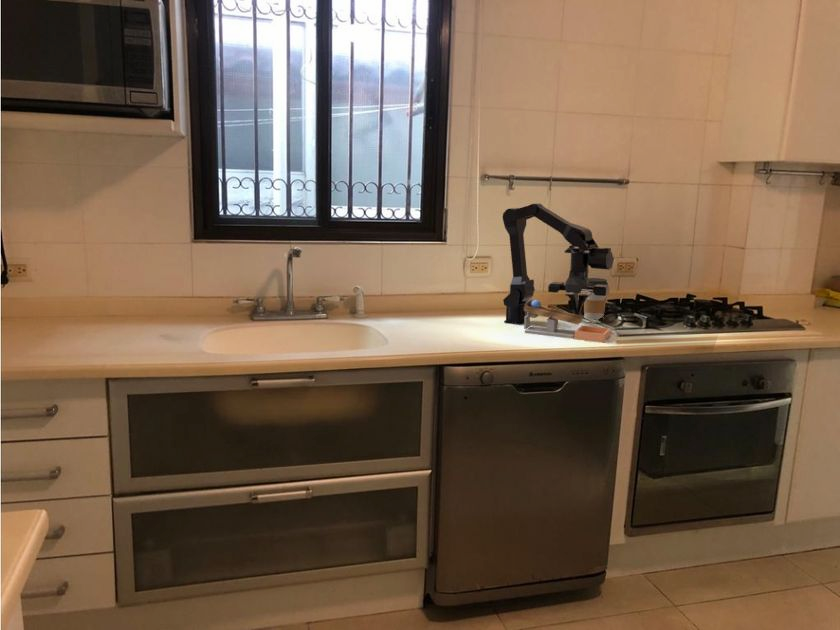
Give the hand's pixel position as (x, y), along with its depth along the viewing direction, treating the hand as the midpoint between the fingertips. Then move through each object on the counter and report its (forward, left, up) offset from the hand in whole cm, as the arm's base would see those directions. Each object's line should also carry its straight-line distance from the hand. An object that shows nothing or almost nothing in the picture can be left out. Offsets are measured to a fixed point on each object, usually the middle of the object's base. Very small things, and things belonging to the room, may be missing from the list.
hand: (577, 314), depth 215 cm
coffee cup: (+1, +19, -6) cm, 20 cm away
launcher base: (-7, -5, -6) cm, 10 cm away
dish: (+7, -5, -6) cm, 10 cm away
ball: (-13, -5, +3) cm, 14 cm away
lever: (-7, -3, -2) cm, 8 cm away
